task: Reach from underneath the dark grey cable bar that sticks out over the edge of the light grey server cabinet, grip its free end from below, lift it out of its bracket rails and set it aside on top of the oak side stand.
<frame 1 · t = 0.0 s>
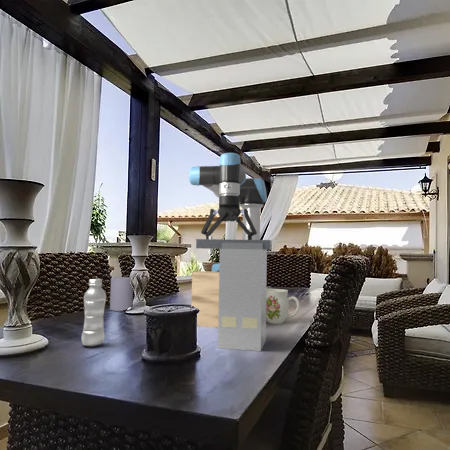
hand: (228, 254, 136), 28 cm above the table, tool pointing down, fingers open, 13 cm apart
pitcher: (277, 323, 155), on the table
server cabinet: (242, 344, 119), on the table
plastic bottle: (92, 346, 114), on the table
oak side stand: (216, 324, 149), on the table
cable bar: (233, 249, 122), point 30 cm above the table, touching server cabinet
container: (121, 310, 180), on the table
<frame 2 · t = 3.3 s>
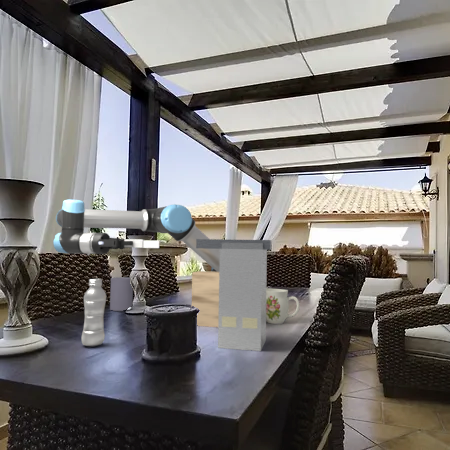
hand: (151, 243, 130), 31 cm above the table, tool horizontal, fingers open, 13 cm apart
nothing on the table moved.
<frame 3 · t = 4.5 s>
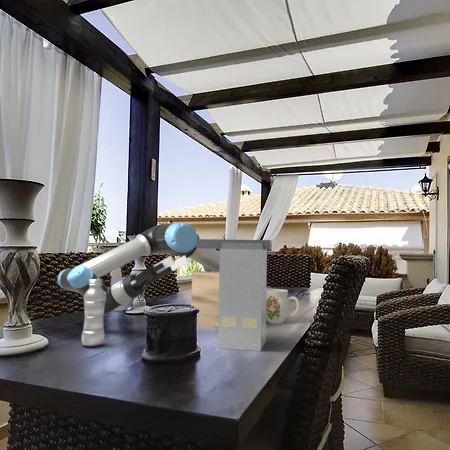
hand: (180, 259, 126), 26 cm above the table, tool pointing upward, fingers open, 13 cm apart
nothing on the table moved.
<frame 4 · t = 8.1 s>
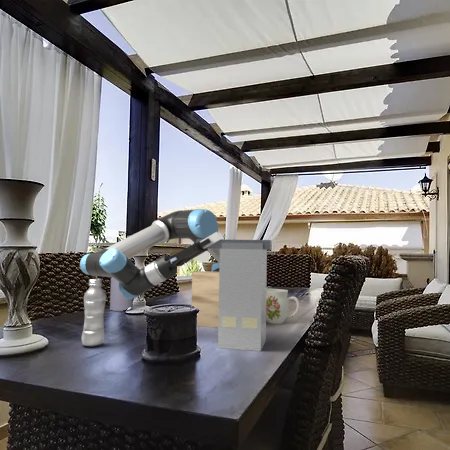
hand: (220, 235, 123), 34 cm above the table, tool pointing upward, fingers closed on cable bar, 4 cm apart
cable bar: (233, 249, 122), point 30 cm above the table, touching gripper, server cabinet
everything else where it was.
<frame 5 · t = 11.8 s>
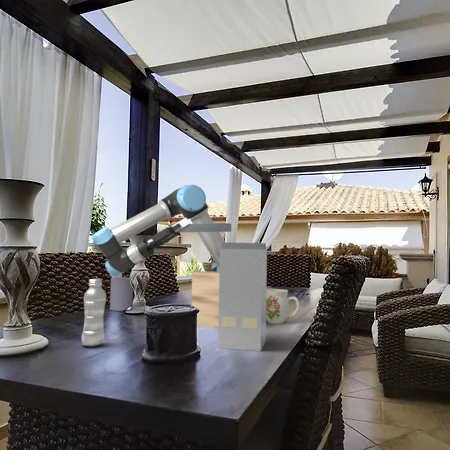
hand: (189, 221, 148), 41 cm above the table, tool pointing upward, fingers closed on cable bar, 4 cm apart
cable bar: (200, 231, 147), point 36 cm above the table, touching gripper
everything else where it was.
when the fingers open (25 cm above the table, at t = 15.6 s): cable bar stays where it is, resting on oak side stand.
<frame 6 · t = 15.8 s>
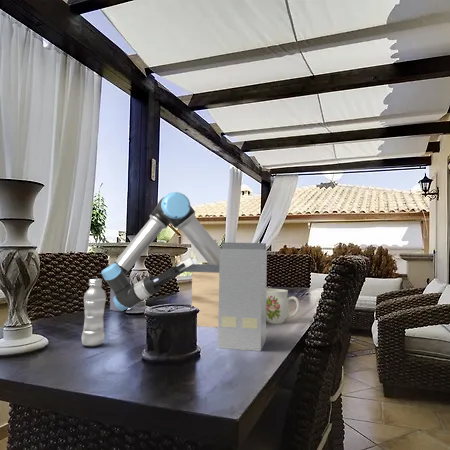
hand: (194, 260, 153), 25 cm above the table, tool pointing upward, fingers open, 6 cm apart
cable bar: (205, 272, 151), point 20 cm above the table, touching oak side stand
everything else where it was.
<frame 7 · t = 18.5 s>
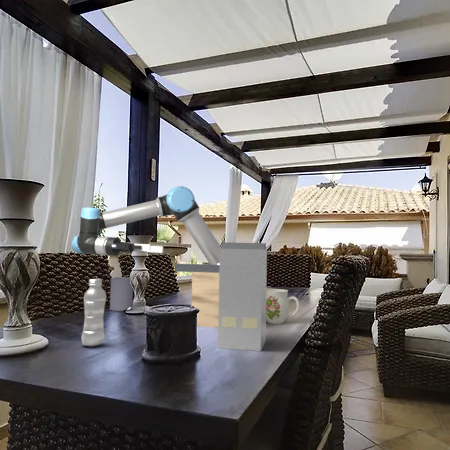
hand: (156, 248, 153), 29 cm above the table, tool horizontal, fingers open, 13 cm apart
nothing on the table moved.
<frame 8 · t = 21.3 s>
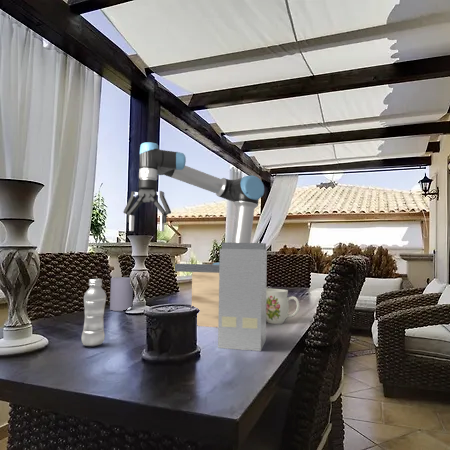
hand: (146, 231, 156), 37 cm above the table, tool pointing down, fingers open, 13 cm apart
nothing on the table moved.
at the end: cable bar inside the target area (0.1 cm from its centre), point 20.5 cm above the table; the gripper is holding nothing; cable bar moved 33.4 cm from its start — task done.
